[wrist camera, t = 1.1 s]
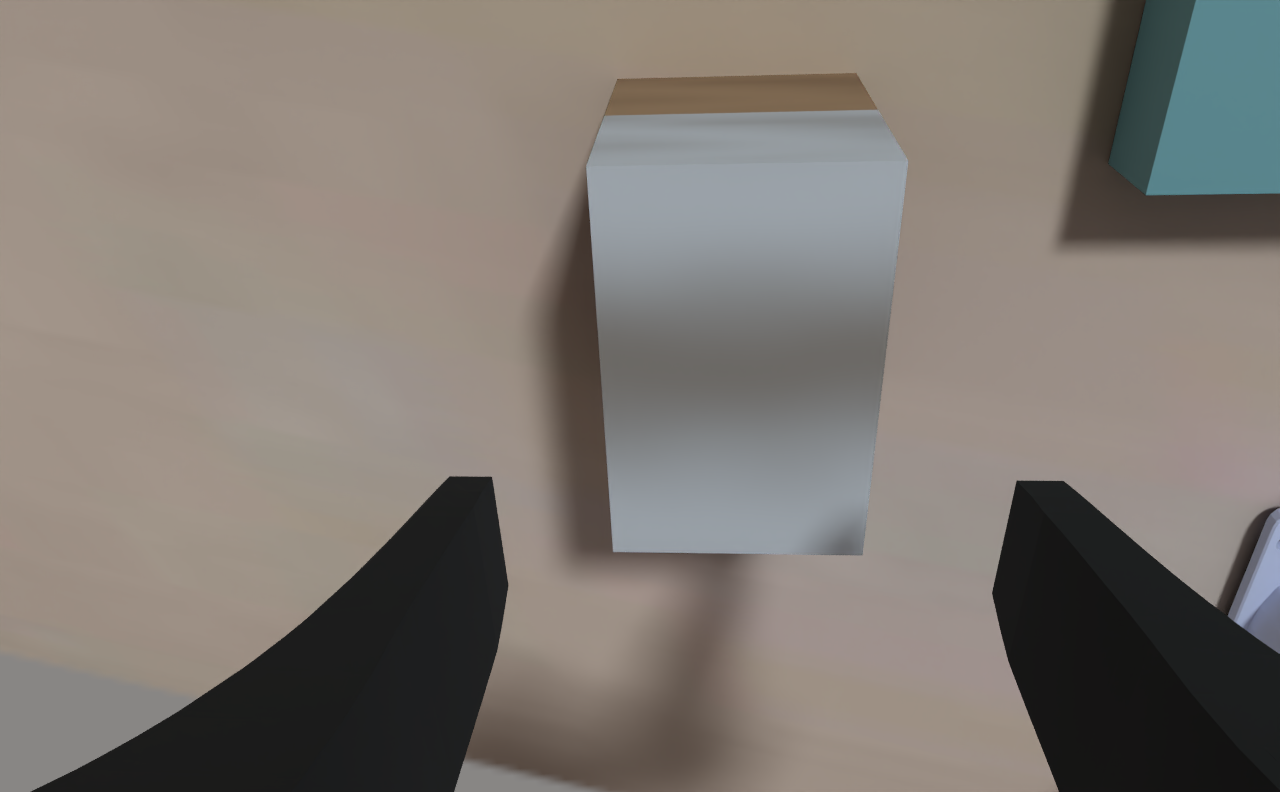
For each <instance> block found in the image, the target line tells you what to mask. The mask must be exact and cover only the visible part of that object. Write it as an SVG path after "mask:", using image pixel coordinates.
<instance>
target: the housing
mask: <svg viewBox="0 0 1280 792" xmlns="http://www.w3.org/2000/svg"><path fill="white" fill-rule="evenodd" d="M907 167H908V159H907V158H906V156H905V154H904V153H903V151H902V149H901V148H900V146H899V144H898V143H897V141H896V139H895V138H894V136H893V134H892V133H891V131H890V129H889V127H888V126H887V124H886V122H885V121H884V119H883V117H882V116H881V114H880V112H879V111H878V109H877V107H876V106H875V104H874V102H873V101H872V99H871V97H870V96H869V94H868V92H867V90H866V89H865V87H864V85H863V84H862V82H861V80H860V79H859V77H858V75H857V74H856V73H846V74H805V75H764V76H723V77H682V78H641V79H617V82H616V85H615V88H614V90H613V93H612V96H611V99H610V102H609V104H608V107H607V110H606V113H605V115H604V118H603V121H602V124H601V127H600V129H599V132H598V135H597V138H596V140H595V143H594V146H593V149H592V152H591V154H590V157H589V160H588V163H587V165H586V171H587V185H588V199H589V214H590V228H591V242H592V257H593V271H594V285H595V299H596V314H597V328H598V342H599V357H600V371H601V385H602V400H603V414H604V428H605V442H606V457H607V471H608V485H609V500H610V514H611V528H612V543H613V552H653V553H728V554H802V555H863V546H864V537H865V529H866V520H867V512H868V503H869V494H870V486H871V477H872V469H873V460H874V451H875V443H876V434H877V425H878V417H879V408H880V400H881V391H882V382H883V374H884V365H885V357H886V348H887V339H888V331H889V322H890V314H891V305H892V296H893V288H894V279H895V270H896V262H897V253H898V245H899V236H900V227H901V219H902V210H903V202H904V193H905V184H906V176H907Z"/></svg>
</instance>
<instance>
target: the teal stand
mask: <svg viewBox="0 0 1280 792" xmlns="http://www.w3.org/2000/svg"><path fill="white" fill-rule="evenodd" d="M1108 164H1109V165H1110V166H1112V167H1113V168H1114V169H1115V170H1116V171H1117V172H1119V173H1120V174H1121V175H1122V176H1123V177H1125V178H1126V179H1127V180H1128V181H1129V182H1131V183H1132V184H1133V185H1134V186H1135V187H1136V188H1138V189H1139V190H1140V191H1141V192H1142V193H1144V194H1145V195H1198V194H1268V193H1280V0H1146V3H1145V7H1144V12H1143V16H1142V20H1141V25H1140V29H1139V33H1138V37H1137V42H1136V46H1135V50H1134V55H1133V59H1132V63H1131V68H1130V72H1129V76H1128V81H1127V85H1126V89H1125V94H1124V98H1123V102H1122V107H1121V111H1120V115H1119V120H1118V124H1117V128H1116V133H1115V137H1114V141H1113V146H1112V150H1111V154H1110V159H1109V163H1108Z"/></svg>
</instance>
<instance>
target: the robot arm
mask: <svg viewBox="0 0 1280 792" xmlns="http://www.w3.org/2000/svg"><path fill="white" fill-rule="evenodd" d="M1279 540H1280V508H1278V509H1276V510H1275V511H1274V512H1272V513H1271V514H1270V515H1269V517H1268V518H1267V520H1266V522H1265V525H1264V527H1263V530H1262V532H1261V535H1260V537H1259V540H1258V542H1257V545H1256V547H1255V550H1254V552H1253V555H1252V557H1251V559H1250V562H1249V564H1248V567H1247V569H1246V572H1245V574H1244V577H1243V579H1242V582H1241V584H1240V587H1239V589H1238V591H1237V594H1236V596H1235V599H1234V601H1233V604H1232V606H1231V609H1230V611H1229V614H1228V616H1226V615H1225V614H1224V613H1222V612H1221V611H1220V610H1218V609H1217V608H1216V607H1214V606H1213V605H1212V604H1210V603H1209V602H1208V601H1206V600H1205V599H1204V598H1203V597H1201V596H1200V595H1199V594H1198V593H1196V592H1195V591H1194V590H1192V589H1191V588H1190V587H1189V586H1187V585H1186V584H1185V583H1184V582H1182V581H1181V580H1180V579H1179V578H1177V577H1176V576H1175V575H1174V574H1173V573H1171V572H1170V571H1169V570H1168V569H1167V568H1165V567H1164V566H1163V565H1162V564H1160V563H1159V562H1158V561H1157V560H1156V559H1154V558H1153V557H1152V556H1151V555H1150V554H1149V553H1147V552H1146V551H1145V550H1144V549H1143V548H1141V547H1140V546H1139V545H1138V544H1137V543H1136V542H1134V541H1133V540H1132V539H1131V538H1130V537H1129V536H1127V535H1126V534H1125V533H1124V532H1123V531H1122V530H1121V529H1119V528H1118V527H1117V526H1116V525H1115V524H1114V523H1112V522H1111V521H1110V520H1109V519H1108V518H1107V517H1106V516H1104V515H1103V514H1102V513H1101V512H1100V511H1099V510H1097V509H1096V508H1095V507H1094V506H1093V505H1092V504H1091V503H1089V502H1088V501H1087V500H1086V499H1085V498H1084V497H1082V496H1081V495H1080V494H1079V493H1078V492H1076V491H1075V490H1074V489H1073V488H1071V487H1070V486H1069V485H1068V484H1067V483H1065V482H1064V481H1017V482H1016V486H1015V491H1014V496H1013V500H1012V505H1011V509H1010V514H1009V518H1008V523H1007V528H1006V532H1005V537H1004V541H1003V546H1002V550H1001V555H1000V560H999V564H998V569H997V573H996V578H995V582H994V587H993V592H992V595H993V599H994V604H995V608H996V612H997V617H998V621H999V626H1000V630H1001V634H1002V638H1003V642H1004V646H1005V650H1006V654H1007V657H1008V661H1009V664H1010V666H1011V669H1012V672H1013V675H1014V677H1015V680H1016V682H1017V685H1018V688H1019V690H1020V693H1021V695H1022V698H1023V701H1024V703H1025V706H1026V708H1027V711H1028V714H1029V716H1030V719H1031V721H1032V724H1033V726H1034V729H1035V731H1036V734H1037V737H1038V739H1039V742H1040V744H1041V747H1042V749H1043V752H1044V754H1045V757H1046V759H1047V762H1048V764H1049V767H1050V770H1051V772H1052V775H1053V777H1054V780H1055V782H1056V785H1057V787H1058V790H1059V792H1280V541H1279ZM507 591H508V580H507V573H506V567H505V560H504V553H503V547H502V540H501V533H500V527H499V520H498V514H497V507H496V500H495V494H494V487H493V480H492V477H451V476H450V477H449V478H448V479H447V480H446V481H445V482H444V483H443V484H442V485H441V486H440V487H439V488H438V489H437V490H436V491H435V492H434V493H433V494H432V495H431V496H430V497H429V498H428V499H427V500H426V501H425V503H424V504H423V505H422V506H421V507H420V508H419V509H418V510H417V511H416V512H415V513H414V514H413V515H412V517H411V518H410V519H409V520H408V521H407V522H406V523H405V524H404V525H403V526H402V527H401V528H400V529H399V530H398V531H397V532H396V533H395V535H394V536H393V537H392V538H391V539H390V540H389V541H388V542H387V543H386V544H385V545H384V546H383V547H382V548H381V549H380V550H379V551H378V552H377V553H376V554H375V555H374V556H373V557H372V558H371V559H370V560H369V561H368V562H367V563H366V564H365V565H364V566H363V567H362V568H361V569H360V570H359V571H358V572H357V573H356V574H355V575H354V576H353V577H352V578H351V579H350V580H349V581H348V582H346V583H345V584H344V585H343V586H342V587H341V588H340V589H339V590H338V591H337V592H336V593H334V594H333V595H332V596H331V597H330V598H329V599H328V600H327V601H326V602H325V603H324V604H322V605H321V606H320V607H319V608H318V609H317V610H316V611H315V612H314V613H313V614H311V615H310V616H309V617H308V618H307V619H306V620H304V621H303V622H302V623H301V624H300V625H299V626H297V627H296V628H295V629H294V630H292V631H291V632H290V633H289V634H287V635H286V636H285V637H284V638H282V639H281V640H280V641H278V642H277V643H276V644H275V645H273V646H272V647H271V648H269V649H268V650H267V651H265V652H264V653H263V654H261V655H260V656H259V657H258V658H256V659H255V660H254V661H252V662H251V663H249V664H248V665H247V666H245V667H244V668H243V669H241V670H240V671H238V672H237V673H235V674H234V675H232V676H231V677H229V678H228V679H226V680H225V681H223V682H222V683H220V684H219V685H217V686H216V687H214V688H213V689H211V690H210V691H208V692H207V693H205V694H204V695H202V696H201V697H199V698H198V699H196V700H195V701H193V702H192V703H190V704H189V705H187V706H186V707H184V708H183V709H182V710H180V711H179V712H177V713H175V714H174V715H172V716H170V717H169V718H167V719H165V720H163V721H162V722H160V723H158V724H157V725H155V726H153V727H152V728H150V729H149V730H147V731H145V732H143V733H142V734H140V735H138V736H137V737H135V738H133V739H131V740H129V741H128V742H126V743H124V744H122V745H121V746H119V747H117V748H115V749H114V750H112V751H110V752H108V753H106V754H104V755H103V756H101V757H99V758H97V759H95V760H93V761H91V762H89V763H88V764H86V765H84V766H82V767H80V768H78V769H77V770H74V771H72V772H70V773H68V774H66V775H64V776H62V777H60V778H58V779H56V780H54V781H52V782H50V783H48V784H46V785H44V786H42V787H39V788H37V789H35V790H33V791H32V792H454V790H455V787H456V784H457V780H458V777H459V774H460V770H461V767H462V764H463V761H464V758H465V755H466V751H467V748H468V745H469V742H470V738H471V735H472V732H473V729H474V725H475V722H476V719H477V716H478V712H479V709H480V706H481V703H482V699H483V696H484V693H485V690H486V686H487V683H488V680H489V676H490V673H491V670H492V666H493V663H494V660H495V656H496V653H497V649H498V644H499V638H500V633H501V627H502V622H503V615H504V609H505V603H506V597H507Z"/></svg>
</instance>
